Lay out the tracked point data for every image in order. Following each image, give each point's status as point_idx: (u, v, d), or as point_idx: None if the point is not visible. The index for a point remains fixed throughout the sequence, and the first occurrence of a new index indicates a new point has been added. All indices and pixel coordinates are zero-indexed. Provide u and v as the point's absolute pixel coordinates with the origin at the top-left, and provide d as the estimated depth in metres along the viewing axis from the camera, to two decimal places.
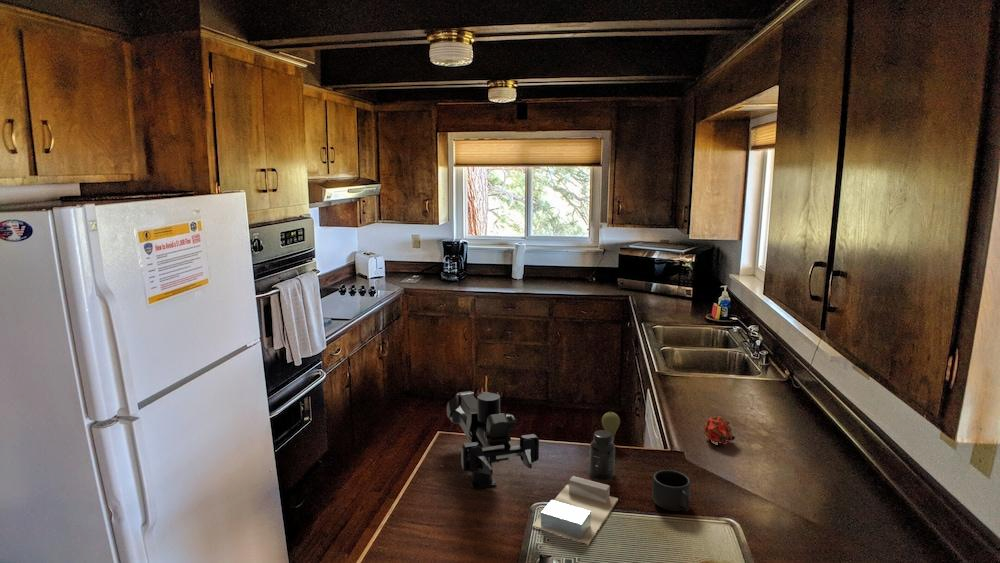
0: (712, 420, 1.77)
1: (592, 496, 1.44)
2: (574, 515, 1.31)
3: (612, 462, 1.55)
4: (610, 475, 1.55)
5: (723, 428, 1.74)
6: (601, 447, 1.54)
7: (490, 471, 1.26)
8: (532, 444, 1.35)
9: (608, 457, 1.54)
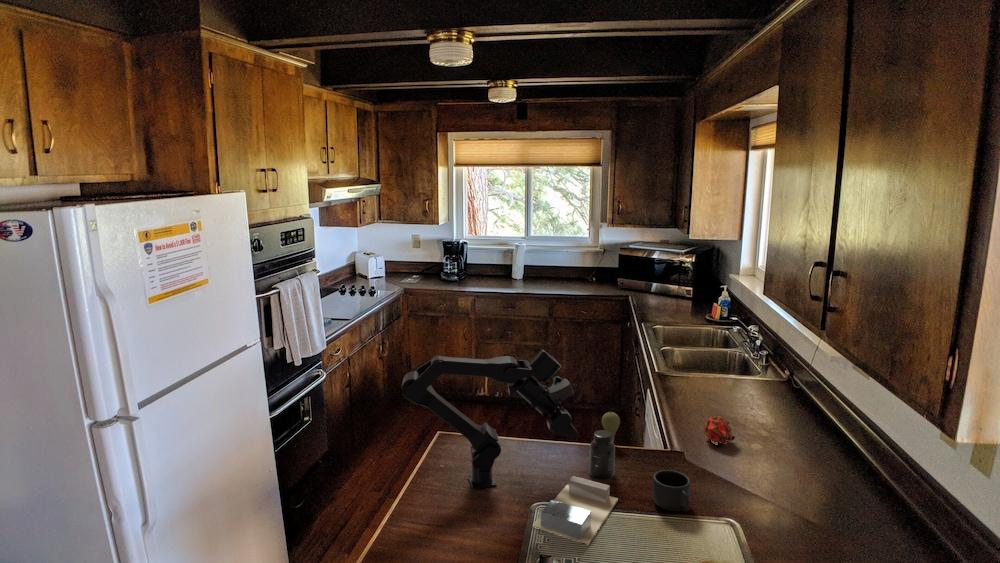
0: (712, 420, 1.77)
1: (592, 496, 1.44)
2: (574, 515, 1.31)
3: (612, 462, 1.55)
4: (610, 475, 1.55)
5: (723, 428, 1.74)
6: (601, 447, 1.54)
7: (578, 436, 1.50)
8: None
9: (608, 457, 1.54)
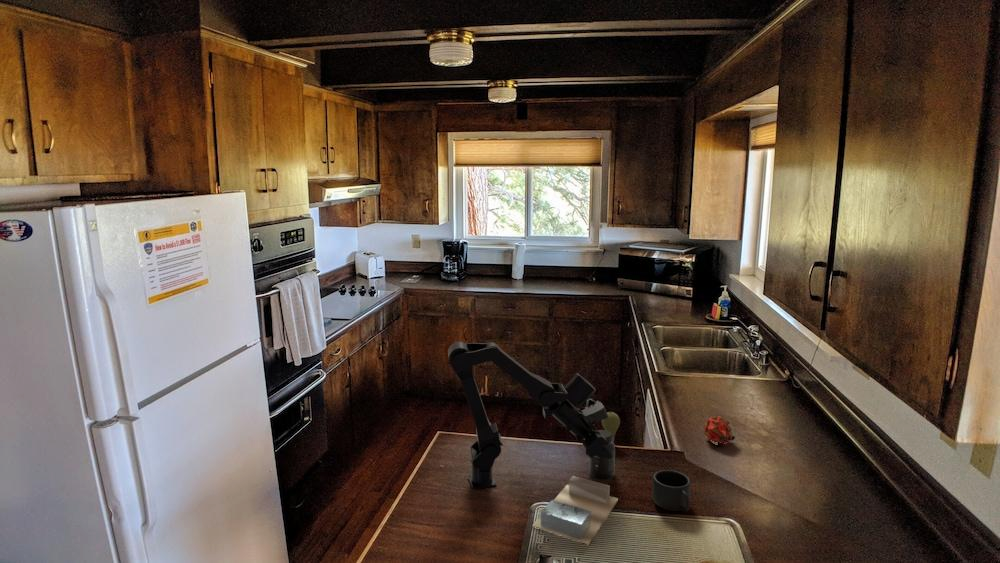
0: (712, 420, 1.77)
1: (592, 496, 1.44)
2: (574, 515, 1.31)
3: (612, 462, 1.55)
4: (610, 475, 1.55)
5: (723, 428, 1.74)
6: None
7: (611, 457, 1.53)
8: None
9: None
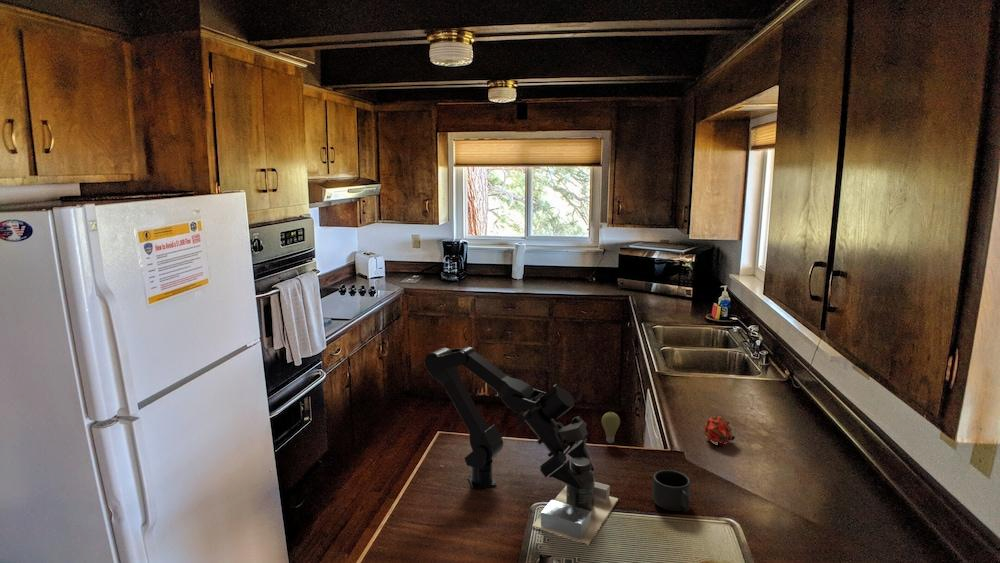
0: (712, 420, 1.77)
1: None
2: (574, 515, 1.31)
3: (584, 495, 1.37)
4: None
5: (723, 428, 1.74)
6: None
7: (579, 487, 1.35)
8: None
9: None
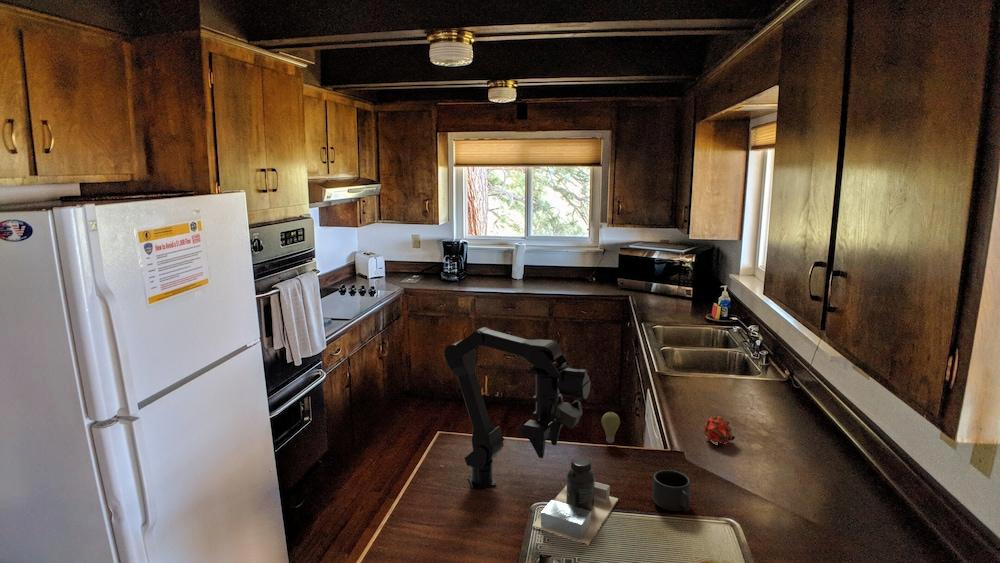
0: (712, 420, 1.77)
1: None
2: (574, 515, 1.31)
3: (584, 495, 1.37)
4: None
5: (723, 428, 1.74)
6: (572, 475, 1.38)
7: (540, 457, 1.39)
8: None
9: (577, 488, 1.37)
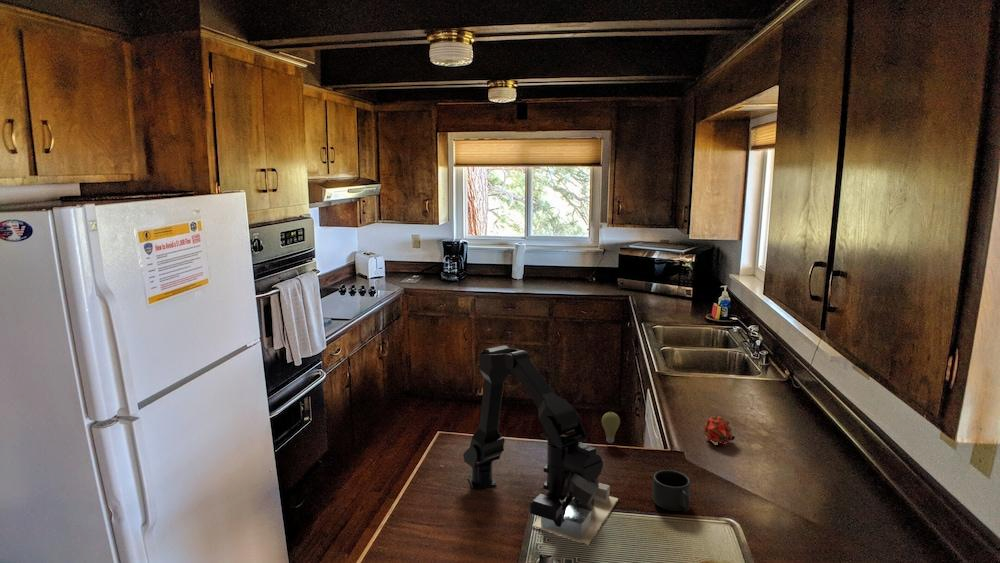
0: (712, 420, 1.77)
1: None
2: (574, 515, 1.31)
3: None
4: None
5: (723, 428, 1.74)
6: None
7: (558, 525, 1.29)
8: None
9: None
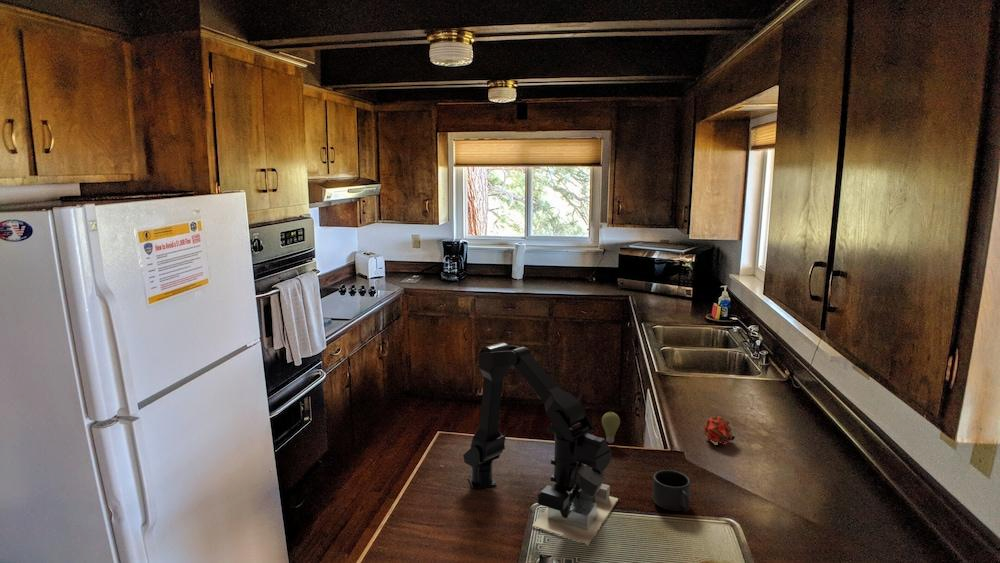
0: (712, 420, 1.77)
1: None
2: (580, 507, 1.34)
3: (585, 494, 1.38)
4: None
5: (723, 428, 1.74)
6: None
7: (565, 516, 1.32)
8: None
9: None
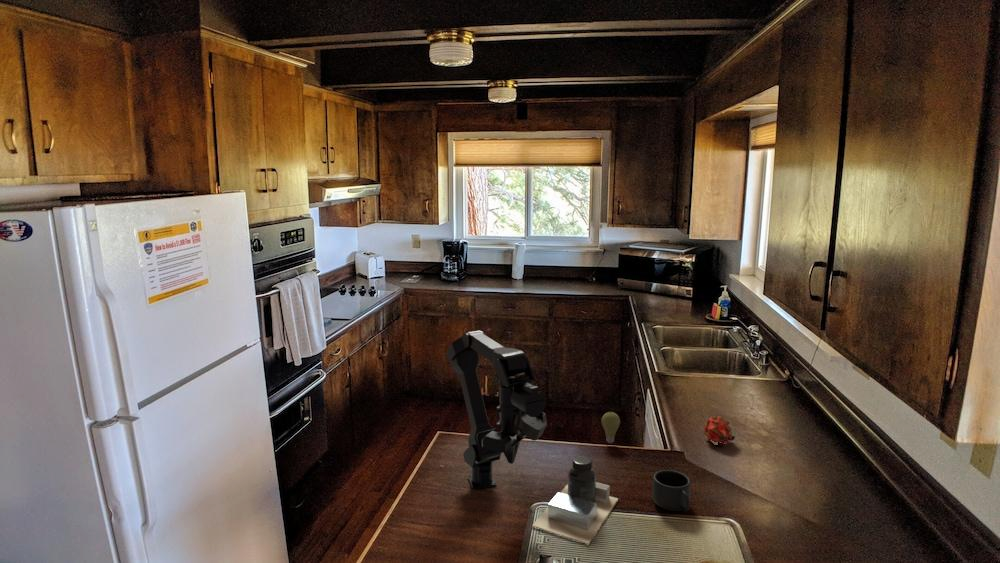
0: (712, 420, 1.77)
1: None
2: (580, 507, 1.34)
3: (586, 494, 1.38)
4: None
5: (723, 428, 1.74)
6: (573, 473, 1.39)
7: (510, 462, 1.39)
8: None
9: (579, 486, 1.38)
